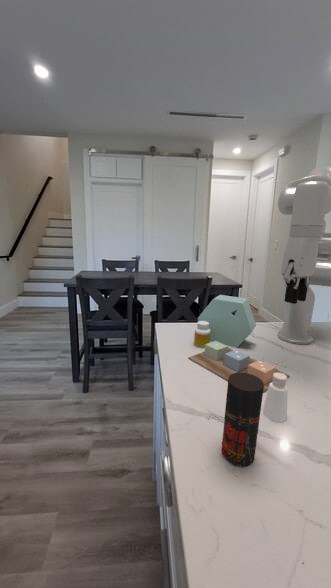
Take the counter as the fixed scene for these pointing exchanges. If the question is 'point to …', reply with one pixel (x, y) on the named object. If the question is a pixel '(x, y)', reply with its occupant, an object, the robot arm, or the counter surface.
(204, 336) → the supplement bottle
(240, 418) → the deodorant
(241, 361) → the tile two
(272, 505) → the counter surface
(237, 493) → the counter surface
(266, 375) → the tile three
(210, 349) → the tile one
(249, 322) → the mint hexagonal clock
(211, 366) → the board
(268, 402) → the pepper shaker
